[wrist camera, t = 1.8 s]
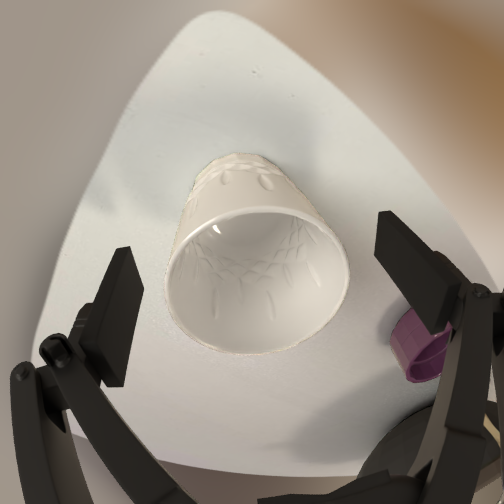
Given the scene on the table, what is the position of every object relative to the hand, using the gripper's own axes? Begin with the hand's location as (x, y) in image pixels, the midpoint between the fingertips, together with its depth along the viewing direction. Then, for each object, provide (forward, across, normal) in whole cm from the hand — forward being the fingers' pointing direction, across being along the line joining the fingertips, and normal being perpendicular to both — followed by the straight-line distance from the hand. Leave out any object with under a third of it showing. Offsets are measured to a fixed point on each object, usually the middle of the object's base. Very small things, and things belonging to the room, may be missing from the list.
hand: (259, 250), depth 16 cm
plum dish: (+7, +18, -17) cm, 25 cm away
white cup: (+7, 0, 0) cm, 7 cm away
